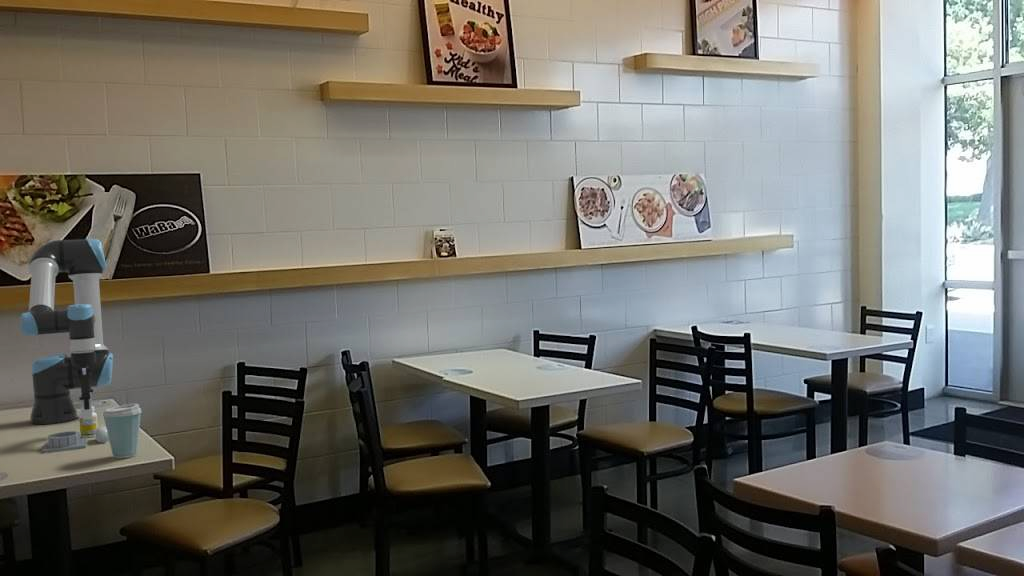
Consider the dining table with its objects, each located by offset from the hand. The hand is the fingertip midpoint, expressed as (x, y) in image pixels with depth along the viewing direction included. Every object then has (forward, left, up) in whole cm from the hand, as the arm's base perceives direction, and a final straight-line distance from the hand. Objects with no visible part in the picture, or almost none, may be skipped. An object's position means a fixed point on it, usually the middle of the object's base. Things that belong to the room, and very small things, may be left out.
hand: (88, 416), depth 311 cm
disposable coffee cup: (+37, +10, -7) cm, 39 cm away
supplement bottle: (0, 0, -7) cm, 7 cm away
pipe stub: (+10, +4, -7) cm, 12 cm away
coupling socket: (+12, -7, -7) cm, 15 cm away
